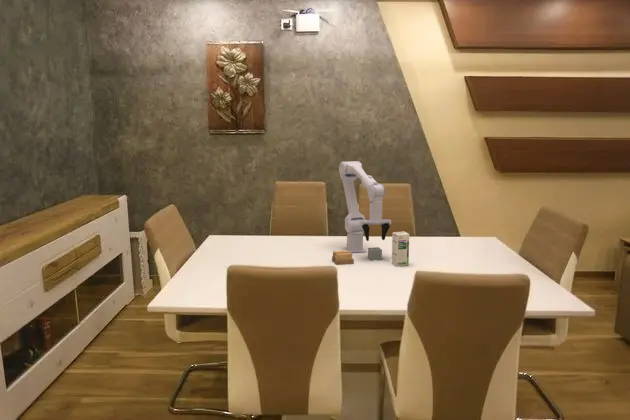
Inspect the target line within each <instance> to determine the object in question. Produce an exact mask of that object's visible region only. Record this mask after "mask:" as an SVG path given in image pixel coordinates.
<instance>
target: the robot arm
mask: <svg viewBox="0 0 630 420" xmlns="http://www.w3.org/2000/svg"><path fill="white" fill-rule="evenodd" d="M338 171H339V176H340V177H339V178H340V180H341V181H342V185H343V190H344V197H345V201H346V205H347V206H346V208H347V210H348V211H347V212H348V214H347V216H346V217H345V218H344V229H345V231H346V233H347V235H346V246H345V247H344V250H348V251H349V252H350V253H352V254H353V253H366V250H365V249H364V238H365V240H366V241H367V242H369V241H370V229H371V227H370V225H371V226H372V225H373V226H374V225H377V226H378V225H380V226H381V240H382V241H385V240H386V235H387V232H388V231H389V229H390V227H391V225H392V219H389V218H388V219H383V204H384V203H383V199H384V198H383V197H385V195H386V187H385V185H384V184H383V183H378V182H377V181H376V180H375V179H374V178H373V176H372V175H368V174H367V173H366V172H365V170H364V169H363V163H361V162H360V161H359V160H356V161H340V164H339V167H338ZM358 178H359V180H360V181H361V185H362V187H364V188H365V190H366V191H367V192H366V193H367V195H368V201H369V219H366V218H365V215H364V214H362V213H361V212H360V210H359V209H360V208H359V204H358V198H357V194H356V193H357V192H356V189H355V184H354V181H355V180H357V179H358ZM364 236H365V237H364Z"/></svg>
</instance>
